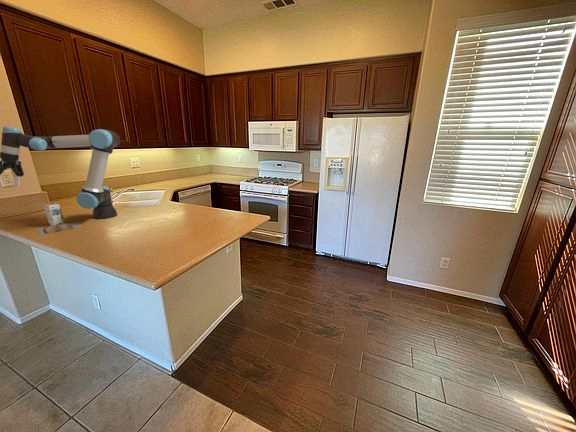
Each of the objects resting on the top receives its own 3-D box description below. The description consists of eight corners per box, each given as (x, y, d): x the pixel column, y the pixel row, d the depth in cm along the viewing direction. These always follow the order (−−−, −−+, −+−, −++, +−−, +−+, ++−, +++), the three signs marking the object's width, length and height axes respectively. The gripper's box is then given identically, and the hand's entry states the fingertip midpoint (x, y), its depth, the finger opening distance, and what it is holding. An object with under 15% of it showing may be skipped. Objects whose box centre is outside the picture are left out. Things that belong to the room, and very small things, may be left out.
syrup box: (55, 226, 157) (48, 205, 153) (49, 225, 159) (43, 204, 155) (65, 224, 162) (59, 203, 158) (59, 223, 164) (54, 202, 160)
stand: (69, 224, 160) (68, 222, 160) (73, 228, 153) (72, 226, 153) (44, 229, 151) (43, 227, 151) (47, 233, 144) (46, 231, 144)
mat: (77, 222, 166) (77, 222, 166) (82, 227, 157) (82, 226, 157) (37, 230, 151) (37, 229, 151) (40, 235, 142) (40, 234, 142)
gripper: (20, 152, 156) (16, 183, 159) (-20, 149, 132) (-23, 186, 135) (34, 155, 158) (30, 186, 161) (-3, 154, 134) (-6, 190, 137)
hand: (6, 186), depth 148 cm, fingers open, 13 cm apart
